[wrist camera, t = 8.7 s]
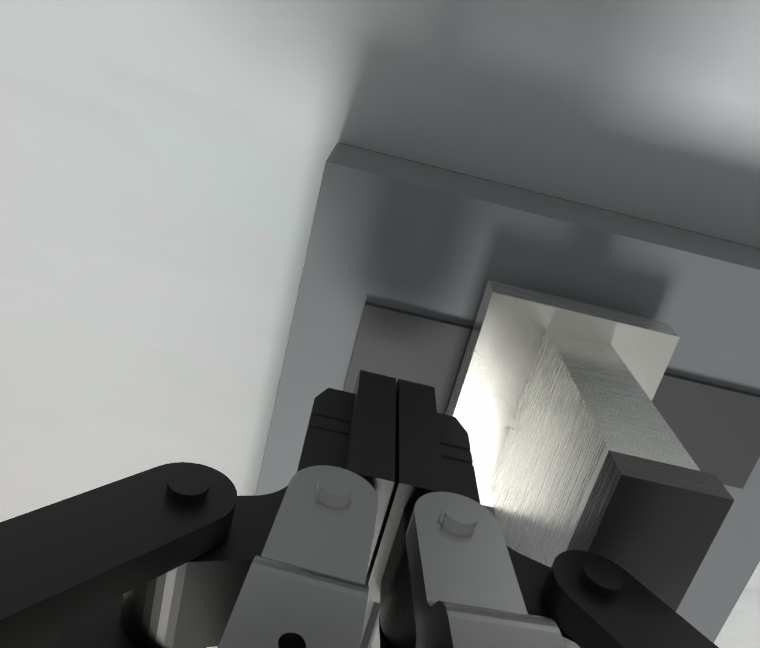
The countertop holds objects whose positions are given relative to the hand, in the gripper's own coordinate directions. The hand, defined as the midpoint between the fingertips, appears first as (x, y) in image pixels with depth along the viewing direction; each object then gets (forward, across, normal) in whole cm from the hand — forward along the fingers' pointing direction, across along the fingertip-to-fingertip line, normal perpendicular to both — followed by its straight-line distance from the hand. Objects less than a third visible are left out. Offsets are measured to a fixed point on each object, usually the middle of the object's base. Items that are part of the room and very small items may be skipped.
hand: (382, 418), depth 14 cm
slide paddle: (+2, -4, 0) cm, 4 cm away
